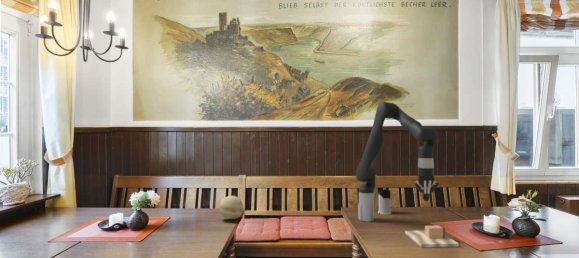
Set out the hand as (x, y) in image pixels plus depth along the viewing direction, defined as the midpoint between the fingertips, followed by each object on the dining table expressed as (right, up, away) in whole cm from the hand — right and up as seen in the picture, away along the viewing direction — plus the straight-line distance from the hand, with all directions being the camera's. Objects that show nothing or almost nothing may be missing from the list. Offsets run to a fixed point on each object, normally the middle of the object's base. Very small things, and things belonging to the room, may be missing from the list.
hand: (426, 200), depth 181 cm
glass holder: (-3, -20, +57) cm, 61 cm away
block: (+1, -16, 0) cm, 16 cm away
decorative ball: (-106, -21, +45) cm, 117 cm away
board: (+2, -20, 0) cm, 20 cm away
